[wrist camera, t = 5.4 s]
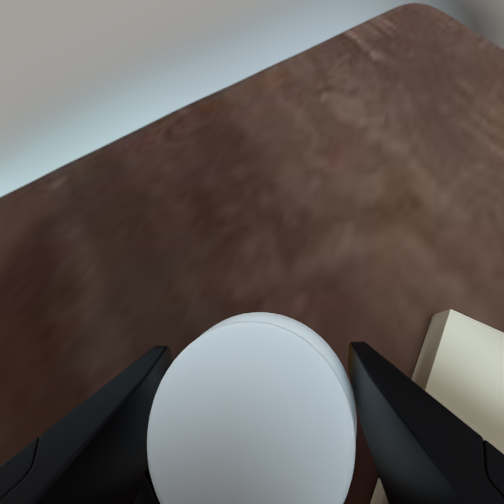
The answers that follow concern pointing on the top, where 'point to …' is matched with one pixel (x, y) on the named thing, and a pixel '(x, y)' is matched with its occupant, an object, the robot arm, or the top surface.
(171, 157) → the top surface
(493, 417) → the notched board
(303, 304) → the top surface
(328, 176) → the top surface
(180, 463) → the supplement bottle
